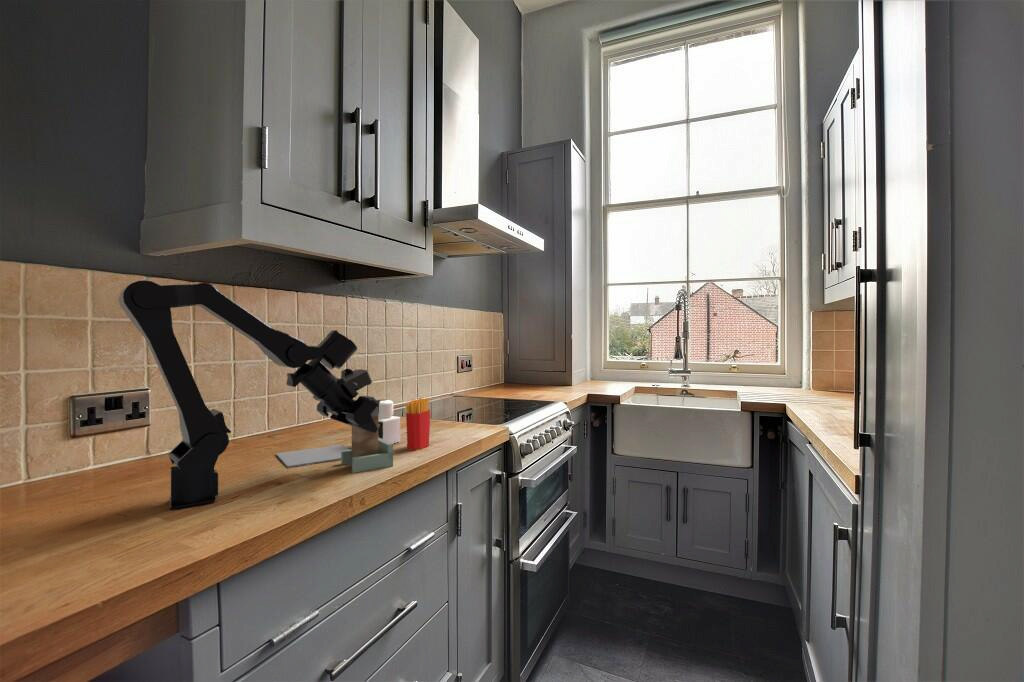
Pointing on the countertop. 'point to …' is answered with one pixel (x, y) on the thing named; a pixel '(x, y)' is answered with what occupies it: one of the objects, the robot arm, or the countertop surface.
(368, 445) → the brown rectangular block
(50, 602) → the countertop surface
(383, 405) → the medicine bottle
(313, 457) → the mat
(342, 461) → the holder
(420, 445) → the french fries
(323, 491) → the countertop surface
